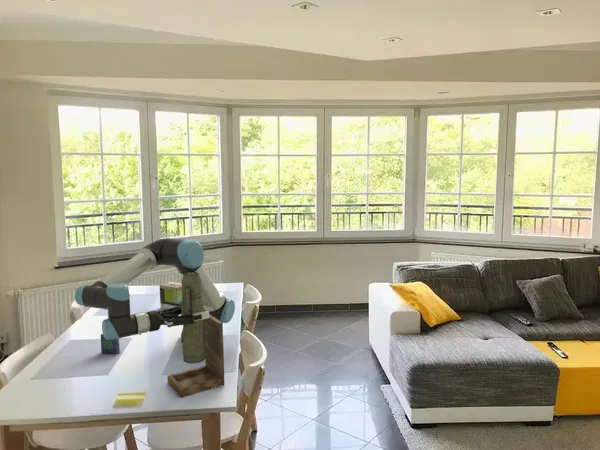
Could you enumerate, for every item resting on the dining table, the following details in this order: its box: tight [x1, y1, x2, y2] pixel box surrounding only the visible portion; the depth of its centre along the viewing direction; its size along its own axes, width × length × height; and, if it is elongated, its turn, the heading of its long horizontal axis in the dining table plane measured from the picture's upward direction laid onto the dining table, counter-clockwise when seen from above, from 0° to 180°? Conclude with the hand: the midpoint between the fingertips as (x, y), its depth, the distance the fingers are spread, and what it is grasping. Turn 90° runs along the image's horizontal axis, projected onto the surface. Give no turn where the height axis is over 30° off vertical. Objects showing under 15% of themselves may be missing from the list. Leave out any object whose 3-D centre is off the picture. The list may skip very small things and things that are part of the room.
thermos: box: [180, 272, 206, 365], centre depth 190 cm, size 9×12×35 cm
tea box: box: [159, 281, 183, 310], centre depth 289 cm, size 15×10×15 cm
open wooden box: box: [167, 314, 226, 399], centre depth 192 cm, size 18×15×26 cm
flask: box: [100, 333, 121, 355], centre depth 224 cm, size 9×3×11 cm, turn 78°
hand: (203, 311), depth 192 cm, fingers closed on thermos, 9 cm apart
